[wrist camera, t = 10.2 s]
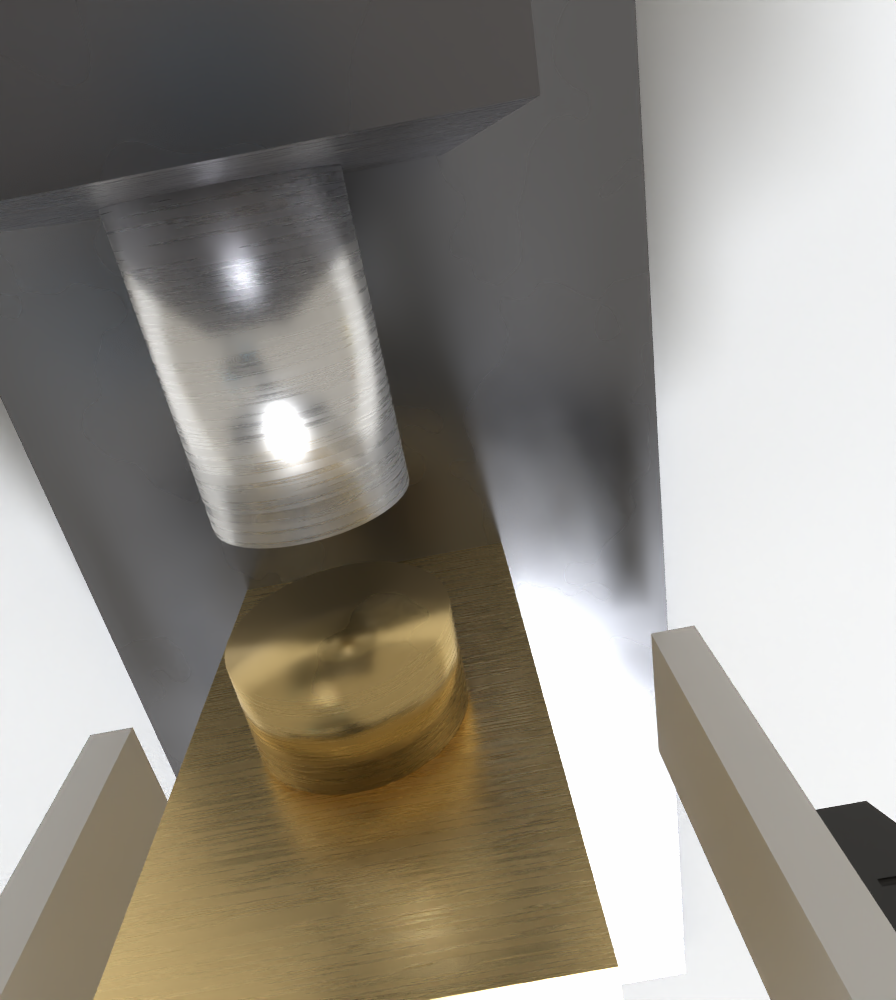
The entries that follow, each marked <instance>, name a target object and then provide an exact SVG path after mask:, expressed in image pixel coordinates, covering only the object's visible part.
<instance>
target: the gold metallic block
mask: <svg viewBox="0 0 896 1000" xmlns="http://www.w3.org/2000/svg"><path fill="white" fill-rule="evenodd" d="M93 1000H623V999H622V990H621V982H620V974H619V966H618V963H617V959H616V955H615V952H614V948H613V944H612V941H611V937H610V934H609V930H608V926H607V923H606V919H605V915H604V912H603V908H602V905H601V901H600V897H599V894H598V890H597V886H596V883H595V879H594V876H593V872H592V868H591V865H590V861H589V857H588V854H587V850H586V847H585V843H584V839H583V836H582V832H581V828H580V825H579V821H578V818H577V814H576V810H575V807H574V803H573V800H572V796H571V792H570V789H569V785H568V781H567V778H566V774H565V771H564V767H563V763H562V760H561V756H560V752H559V749H558V745H557V742H556V738H555V734H554V731H553V727H552V723H551V720H550V716H549V713H548V709H547V705H546V702H545V698H544V694H543V691H542V687H541V684H540V680H539V676H538V673H537V669H536V665H535V662H534V658H533V655H532V651H531V647H530V644H529V640H528V637H527V633H526V629H525V626H524V622H523V618H522V615H521V611H520V608H519V604H518V600H517V597H516V593H515V589H514V586H513V582H512V579H511V575H510V571H509V568H508V564H507V560H506V557H505V553H504V550H503V546H502V543H498V544H492V545H487V546H482V547H476V548H471V549H465V550H460V551H455V552H449V553H444V554H439V555H433V556H428V557H422V558H417V559H412V560H406V561H401V562H362V563H354V564H348V565H343V566H338V567H334V568H330V569H327V570H323V571H320V572H317V573H314V574H311V575H308V576H306V577H304V578H301V579H299V580H297V581H294V582H288V583H283V584H277V585H272V586H267V587H261V588H256V589H251V590H247V592H246V595H245V598H244V600H243V603H242V606H241V608H240V611H239V614H238V616H237V619H236V622H235V624H234V627H233V630H232V632H231V635H230V638H229V640H228V642H227V645H226V648H225V651H224V654H223V656H222V659H221V662H220V664H219V667H218V670H217V672H216V675H215V678H214V680H213V683H212V685H211V688H210V691H209V693H208V696H207V699H206V701H205V704H204V707H203V709H202V712H201V715H200V717H199V720H198V723H197V725H196V728H195V731H194V733H193V736H192V739H191V741H190V744H189V747H188V749H187V752H186V755H185V757H184V760H183V763H182V765H181V768H180V771H179V773H178V776H177V778H176V781H175V784H174V786H173V789H172V792H171V794H170V797H169V800H168V802H167V805H166V808H165V810H164V813H163V816H162V818H161V821H160V824H159V826H158V829H157V832H156V834H155V837H154V840H153V842H152V845H151V848H150V850H149V853H148V856H147V858H146V861H145V864H144V866H143V869H142V872H141V874H140V877H139V879H138V882H137V885H136V887H135V890H134V893H133V895H132V898H131V901H130V903H129V906H128V909H127V911H126V914H125V917H124V919H123V922H122V925H121V927H120V930H119V933H118V935H117V938H116V941H115V943H114V946H113V949H112V951H111V954H110V957H109V959H108V962H107V965H106V967H105V970H104V972H103V975H102V978H101V980H100V983H99V986H98V988H97V991H96V994H95V996H94V999H93Z"/></svg>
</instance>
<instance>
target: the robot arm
mask: <svg viewBox="0 0 896 1000" xmlns="http://www.w3.org/2000/svg"><path fill="white" fill-rule="evenodd" d="M651 642H652V657H653V673H654V688H655V704H656V719H657V735H658V750H659V753H660V755H661V757H662V760H663V762H664V764H665V766H666V768H667V771H668V773H669V775H670V777H671V780H672V782H673V784H674V786H675V788H676V791H677V793H678V795H679V797H680V800H681V802H682V804H683V806H684V808H685V811H686V813H687V815H688V817H689V819H690V822H691V824H692V826H693V828H694V831H695V833H696V835H697V837H698V839H699V842H700V844H701V846H702V848H703V851H704V853H705V855H706V857H707V859H708V862H709V864H710V866H711V868H712V871H713V873H714V875H715V877H716V879H717V882H718V884H719V886H720V888H721V891H722V893H723V895H724V897H725V899H726V902H727V904H728V906H729V908H730V910H731V913H732V915H733V917H734V919H735V922H736V924H737V926H738V928H739V930H740V933H741V935H742V937H743V939H744V942H745V944H746V946H747V948H748V950H749V953H750V955H751V957H752V959H753V962H754V964H755V966H756V968H757V970H758V973H759V975H760V977H761V979H762V982H763V984H764V986H765V988H766V990H767V993H768V995H769V997H770V999H771V1000H896V823H895V822H894V821H893V820H891V819H890V818H889V817H887V816H886V815H885V814H883V813H882V812H880V811H879V810H878V809H876V808H875V807H874V806H872V805H871V804H870V803H868V802H867V801H863V802H857V803H852V804H846V805H840V806H835V807H829V808H823V809H818V810H815V808H814V807H813V805H812V804H811V802H810V801H809V799H808V798H807V796H806V795H805V793H804V792H803V790H802V789H801V787H800V786H799V784H798V783H797V781H796V779H795V778H794V776H793V775H792V773H791V772H790V770H789V769H788V767H787V766H786V764H785V763H784V761H783V760H782V758H781V757H780V755H779V754H778V752H777V751H776V749H775V748H774V746H773V744H772V743H771V741H770V740H769V738H768V737H767V735H766V734H765V732H764V731H763V729H762V728H761V726H760V725H759V723H758V722H757V720H756V719H755V717H754V716H753V714H752V713H751V711H750V710H749V708H748V706H747V705H746V703H745V702H744V700H743V699H742V697H741V696H740V694H739V693H738V691H737V690H736V688H735V687H734V685H733V684H732V682H731V681H730V679H729V678H728V676H727V675H726V673H725V671H724V670H723V668H722V667H721V665H720V664H719V662H718V661H717V659H716V658H715V656H714V655H713V653H712V652H711V650H710V649H709V647H708V646H707V644H706V643H705V641H704V640H703V638H702V637H701V635H700V633H699V632H698V630H697V629H696V627H695V626H690V627H684V628H679V629H673V630H668V631H662V632H657V633H651ZM167 802H168V801H167V799H166V797H165V795H164V793H163V790H162V788H161V786H160V784H159V782H158V780H157V778H156V776H155V774H154V772H153V770H152V767H151V765H150V763H149V761H148V759H147V757H146V755H145V753H144V751H143V749H142V747H141V744H140V742H139V740H138V738H137V736H136V734H135V732H134V730H133V728H127V729H122V730H116V731H111V732H105V733H99V734H94V735H90V737H89V738H88V740H87V742H86V744H85V745H84V747H83V749H82V751H81V753H80V754H79V756H78V758H77V760H76V762H75V763H74V765H73V767H72V769H71V770H70V772H69V774H68V776H67V778H66V779H65V781H64V783H63V785H62V786H61V788H60V790H59V792H58V794H57V795H56V797H55V799H54V801H53V803H52V804H51V806H50V808H49V810H48V811H47V813H46V815H45V817H44V819H43V820H42V822H41V824H40V826H39V827H38V829H37V831H36V833H35V835H34V836H33V838H32V840H31V842H30V844H29V845H28V847H27V849H26V851H25V852H24V854H23V856H22V858H21V860H20V861H19V863H18V865H17V867H16V868H15V870H14V872H13V874H12V876H11V877H10V879H9V881H8V883H7V885H6V886H5V888H4V890H3V892H2V893H1V895H0V1000H93V999H94V996H95V994H96V991H97V988H98V986H99V983H100V980H101V978H102V975H103V972H104V970H105V967H106V965H107V962H108V959H109V957H110V954H111V951H112V949H113V946H114V943H115V941H116V938H117V935H118V933H119V930H120V927H121V925H122V922H123V919H124V917H125V914H126V911H127V909H128V906H129V903H130V901H131V898H132V895H133V893H134V890H135V887H136V885H137V882H138V879H139V877H140V874H141V872H142V869H143V866H144V864H145V861H146V858H147V856H148V853H149V850H150V848H151V845H152V842H153V840H154V837H155V834H156V832H157V829H158V826H159V824H160V821H161V818H162V816H163V813H164V810H165V808H166V805H167Z"/></svg>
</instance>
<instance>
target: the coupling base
mask: <svg viewBox="0 0 896 1000" xmlns="http://www.w3.org/2000/svg"><path fill="white" fill-rule="evenodd" d="M0 397H1V399H2V401H3V403H4V406H5V408H6V410H7V412H8V414H9V416H10V419H11V421H12V423H13V425H14V427H15V429H16V432H17V434H18V436H19V438H20V440H21V442H22V445H23V447H24V449H25V451H26V453H27V455H28V458H29V460H30V462H31V464H32V466H33V468H34V471H35V473H36V475H37V477H38V479H39V481H40V484H41V486H42V488H43V490H44V492H45V494H46V497H47V499H48V501H49V503H50V505H51V507H52V510H53V512H54V514H55V516H56V518H57V520H58V523H59V525H60V527H61V529H62V531H63V533H64V536H65V538H66V540H67V542H68V544H69V546H70V549H71V551H72V553H73V555H74V557H75V559H76V562H77V564H78V566H79V568H80V570H81V572H82V575H83V577H84V579H85V581H86V583H87V585H88V588H89V590H90V592H91V594H92V596H93V598H94V601H95V603H96V605H97V607H98V609H99V611H100V614H101V616H102V618H103V620H104V622H105V624H106V627H107V629H108V631H109V633H110V635H111V637H112V640H113V642H114V644H115V646H116V648H117V650H118V652H119V655H120V657H121V659H122V661H123V663H124V665H125V668H126V670H127V672H128V674H129V676H130V678H131V681H132V683H133V685H134V687H135V689H136V691H137V694H138V696H139V698H140V700H141V702H142V704H143V707H144V709H145V711H146V713H147V715H148V717H149V720H150V722H151V724H152V726H153V728H154V730H155V733H156V735H157V737H158V739H159V741H160V743H161V746H162V748H163V750H164V752H165V754H166V756H167V759H168V761H169V763H170V765H171V767H172V769H173V772H174V774H175V776H176V778H177V776H178V773H179V771H180V768H181V765H182V763H183V760H184V757H185V755H186V752H187V749H188V747H189V744H190V741H191V739H192V736H193V733H194V731H195V728H196V725H197V723H198V720H199V717H200V715H201V712H202V709H203V707H204V704H205V701H206V699H207V696H208V693H209V691H210V688H211V685H212V683H213V680H214V678H215V675H216V672H217V670H218V667H219V664H220V662H221V659H222V656H223V654H224V651H225V648H226V645H227V642H228V640H229V638H230V635H231V632H232V630H233V627H234V624H235V622H236V619H237V616H238V614H239V611H240V608H241V606H242V603H243V600H244V598H245V595H246V592H247V590H251V589H256V588H261V587H267V586H272V585H277V584H283V583H288V582H294V581H297V580H299V579H301V578H304V577H306V576H308V575H311V574H314V573H317V572H320V571H323V570H327V569H330V568H334V567H338V566H343V565H348V564H354V563H362V562H401V561H406V560H412V559H417V558H422V557H428V556H433V555H439V554H444V553H449V552H455V551H460V550H465V549H471V548H476V547H482V546H487V545H492V544H498V543H502V546H503V550H504V553H505V557H506V560H507V564H508V568H509V571H510V575H511V579H512V582H513V586H514V589H515V593H516V597H517V600H518V604H519V608H520V611H521V615H522V618H523V622H524V626H525V629H526V633H527V637H528V640H529V644H530V647H531V651H532V655H533V658H534V662H535V665H536V669H537V673H538V676H539V680H540V684H541V687H542V691H543V694H544V698H545V702H546V705H547V709H548V713H549V716H550V720H551V723H552V727H553V731H554V734H555V738H556V742H557V745H558V749H559V752H560V756H561V760H562V763H563V767H564V771H565V774H566V778H567V781H568V785H569V789H570V792H571V796H572V800H573V803H574V807H575V810H576V814H577V818H578V821H579V825H580V828H581V832H582V836H583V839H584V843H585V847H586V850H587V854H588V857H589V861H590V865H591V868H592V872H593V876H594V879H595V883H596V886H597V890H598V894H599V897H600V901H601V905H602V908H603V912H604V915H605V919H606V923H607V926H608V930H609V934H610V937H611V941H612V944H613V948H614V952H615V955H616V959H617V963H618V966H619V974H620V982H621V985H622V984H627V983H633V982H639V981H645V980H651V979H657V978H662V977H668V976H674V975H680V974H686V972H685V953H684V934H683V914H682V895H681V876H680V857H679V837H678V818H677V799H676V788H675V786H674V784H673V782H672V780H671V777H670V775H669V773H668V771H667V768H666V766H665V764H664V762H663V760H662V757H661V755H660V753H659V750H658V735H657V719H656V704H655V688H654V673H653V657H652V642H651V633H657V632H662V631H668V626H667V606H666V587H665V568H664V549H663V529H662V510H661V491H660V472H659V453H658V433H657V414H656V395H655V376H654V356H653V337H652V318H651V299H650V279H649V260H648V241H647V222H646V202H645V183H644V164H643V145H642V125H641V106H640V87H639V68H638V48H637V29H636V10H635V0H0Z"/></svg>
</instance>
